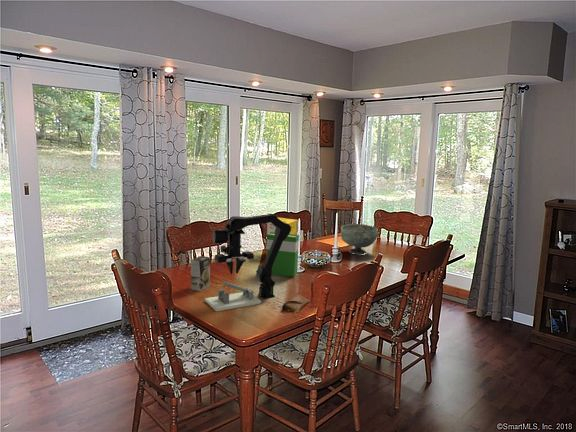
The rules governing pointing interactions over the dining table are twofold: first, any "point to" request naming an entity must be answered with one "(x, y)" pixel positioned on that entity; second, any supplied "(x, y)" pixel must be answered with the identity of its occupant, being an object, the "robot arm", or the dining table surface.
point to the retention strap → (236, 287)
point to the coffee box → (200, 273)
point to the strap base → (232, 300)
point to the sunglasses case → (295, 303)
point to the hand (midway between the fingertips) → (234, 273)
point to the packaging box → (291, 222)
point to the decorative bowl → (358, 236)
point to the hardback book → (285, 255)
